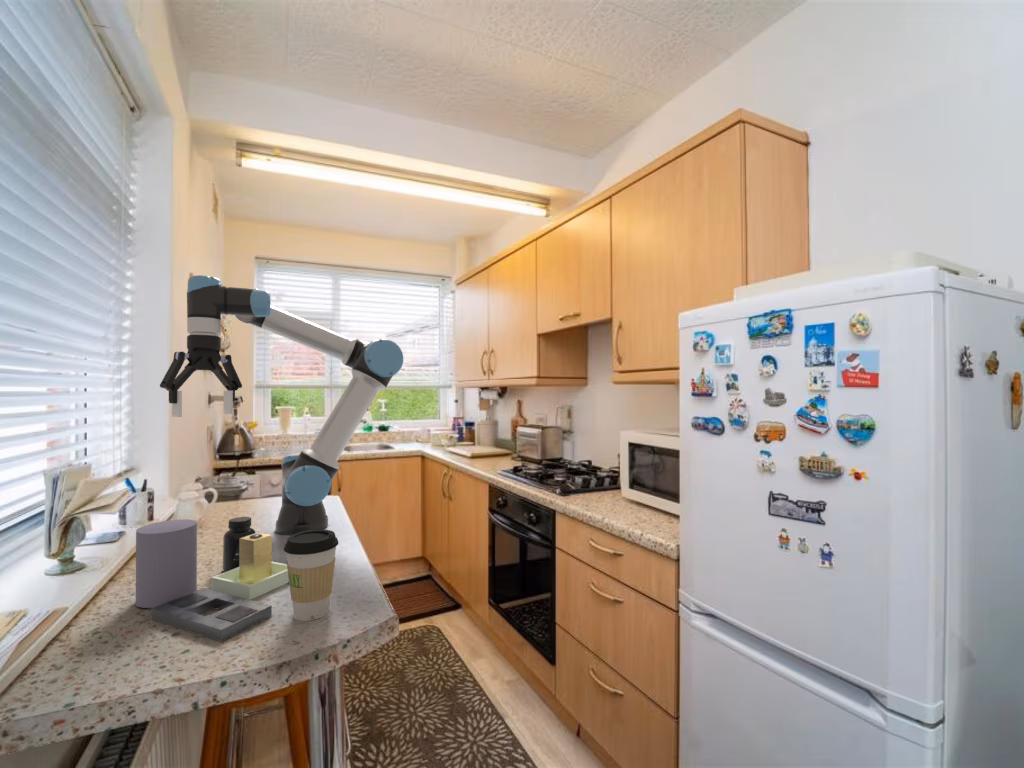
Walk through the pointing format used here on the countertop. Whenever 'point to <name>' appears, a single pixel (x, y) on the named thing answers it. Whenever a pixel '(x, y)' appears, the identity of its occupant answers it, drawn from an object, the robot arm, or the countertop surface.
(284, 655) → the countertop surface
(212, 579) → the tray
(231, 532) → the supplement bottle
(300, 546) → the coffee cup
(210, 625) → the slotted grey trivet
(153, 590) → the container
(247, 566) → the upright wooden post
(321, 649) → the countertop surface
